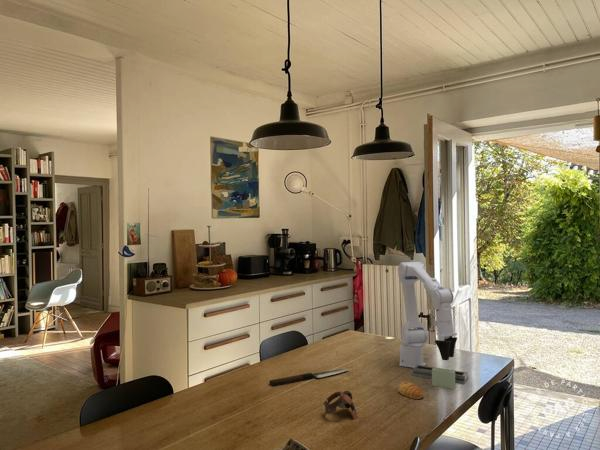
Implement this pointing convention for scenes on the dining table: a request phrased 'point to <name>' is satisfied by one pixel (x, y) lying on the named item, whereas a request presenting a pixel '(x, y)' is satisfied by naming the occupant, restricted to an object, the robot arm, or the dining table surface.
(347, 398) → the brown openwork sculpture
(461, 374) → the door track
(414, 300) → the robot arm
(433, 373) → the door panel
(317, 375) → the kitchen knife
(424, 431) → the dining table surface
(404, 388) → the pastry
